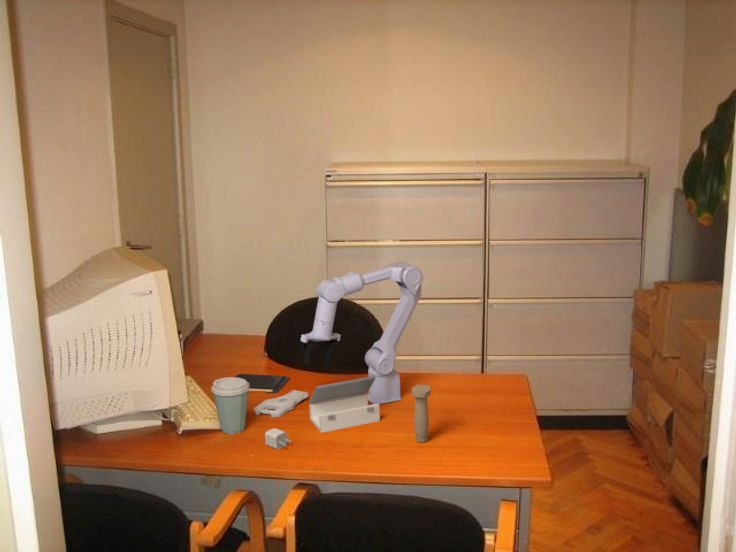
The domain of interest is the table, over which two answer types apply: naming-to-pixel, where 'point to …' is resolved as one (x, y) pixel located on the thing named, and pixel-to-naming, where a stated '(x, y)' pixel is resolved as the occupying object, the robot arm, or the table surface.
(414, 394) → the handle
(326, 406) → the open hinged case
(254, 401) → the table surface
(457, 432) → the table surface
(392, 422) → the table surface
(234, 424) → the disposable coffee cup
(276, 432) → the usb wall charger
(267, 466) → the table surface
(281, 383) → the black notebook
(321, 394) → the cover
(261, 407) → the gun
